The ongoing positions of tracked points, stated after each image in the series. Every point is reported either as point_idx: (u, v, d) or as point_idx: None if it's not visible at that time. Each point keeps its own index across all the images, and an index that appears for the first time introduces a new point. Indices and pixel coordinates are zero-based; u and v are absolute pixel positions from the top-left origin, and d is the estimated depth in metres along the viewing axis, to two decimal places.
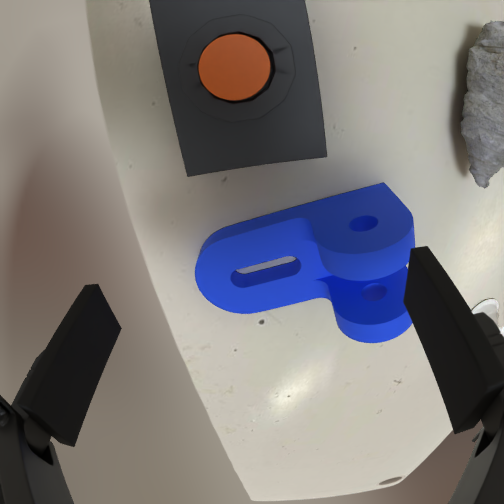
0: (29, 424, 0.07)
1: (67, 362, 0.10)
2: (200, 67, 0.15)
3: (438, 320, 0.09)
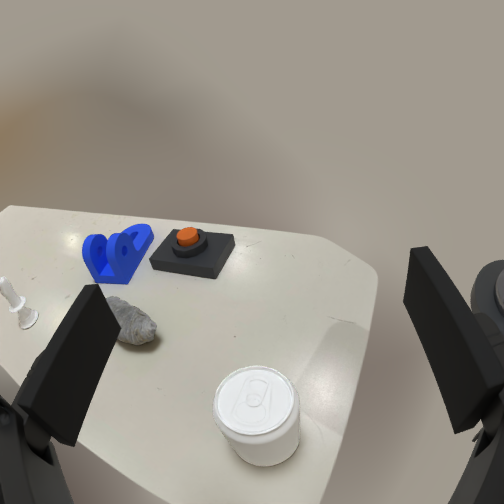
0: (29, 424, 0.07)
1: (67, 362, 0.10)
2: (192, 227, 0.60)
3: (438, 320, 0.09)
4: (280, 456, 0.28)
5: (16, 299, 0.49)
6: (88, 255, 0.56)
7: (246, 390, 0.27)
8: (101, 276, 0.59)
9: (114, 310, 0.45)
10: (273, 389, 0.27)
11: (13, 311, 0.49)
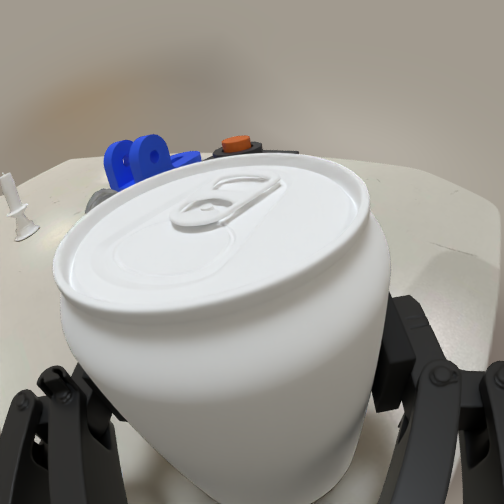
0: (93, 400, 0.08)
1: None
2: None
3: None
4: (279, 498, 0.08)
5: (16, 201, 0.42)
6: (109, 159, 0.45)
7: (194, 192, 0.08)
8: (121, 190, 0.47)
9: (101, 195, 0.31)
10: (290, 192, 0.07)
11: (9, 215, 0.41)
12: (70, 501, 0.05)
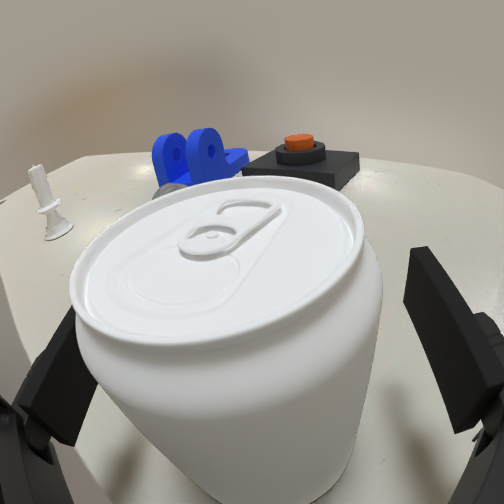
0: (29, 424, 0.07)
1: (67, 362, 0.10)
2: (306, 134, 0.43)
3: (438, 320, 0.09)
4: (279, 498, 0.08)
5: (48, 196, 0.40)
6: (159, 152, 0.43)
7: (200, 217, 0.08)
8: None
9: (175, 190, 0.30)
10: (290, 219, 0.08)
11: (39, 211, 0.40)
12: None
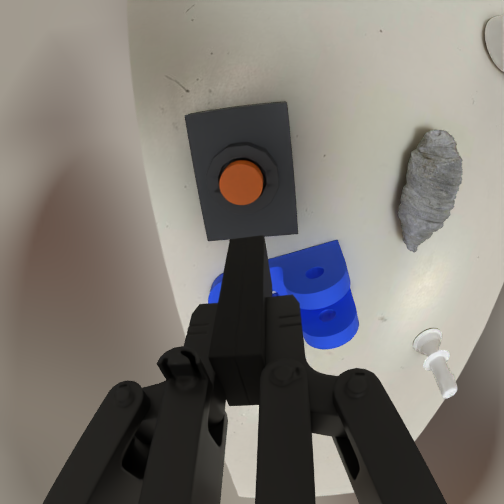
0: (216, 383, 0.09)
1: None
2: (220, 183, 0.29)
3: None
4: None
5: (440, 362, 0.39)
6: (356, 320, 0.34)
7: None
8: None
9: (445, 199, 0.27)
10: None
11: (448, 355, 0.40)
12: None
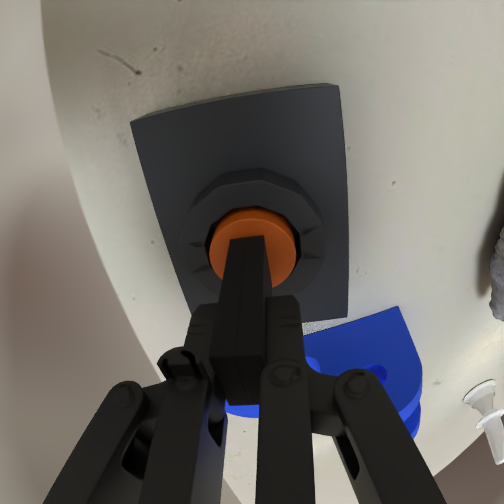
0: (216, 382, 0.09)
1: None
2: (211, 256, 0.15)
3: None
4: None
5: (497, 424, 0.25)
6: (419, 419, 0.20)
7: None
8: None
9: None
10: None
11: (503, 411, 0.26)
12: None
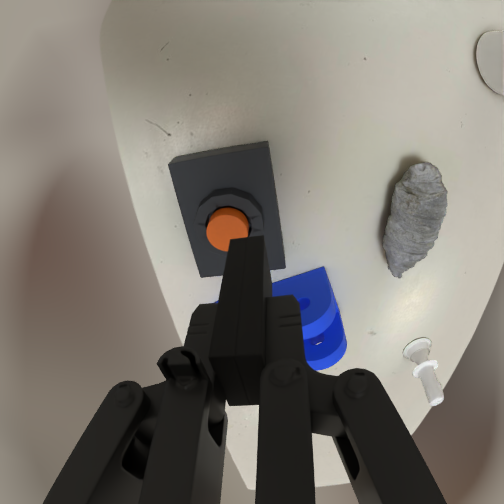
0: (216, 383, 0.09)
1: None
2: (207, 233, 0.30)
3: None
4: None
5: (428, 372, 0.41)
6: (343, 343, 0.36)
7: None
8: (337, 307, 0.40)
9: (428, 233, 0.29)
10: None
11: (436, 364, 0.43)
12: None
